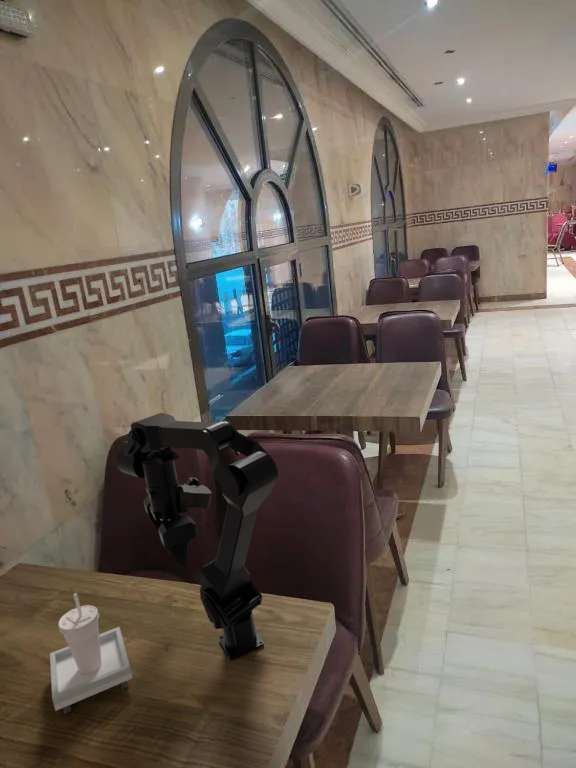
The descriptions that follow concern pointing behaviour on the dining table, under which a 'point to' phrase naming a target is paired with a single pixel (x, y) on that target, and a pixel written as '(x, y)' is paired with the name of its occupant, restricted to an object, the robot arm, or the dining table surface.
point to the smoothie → (82, 636)
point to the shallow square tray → (79, 686)
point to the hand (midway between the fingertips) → (177, 555)
